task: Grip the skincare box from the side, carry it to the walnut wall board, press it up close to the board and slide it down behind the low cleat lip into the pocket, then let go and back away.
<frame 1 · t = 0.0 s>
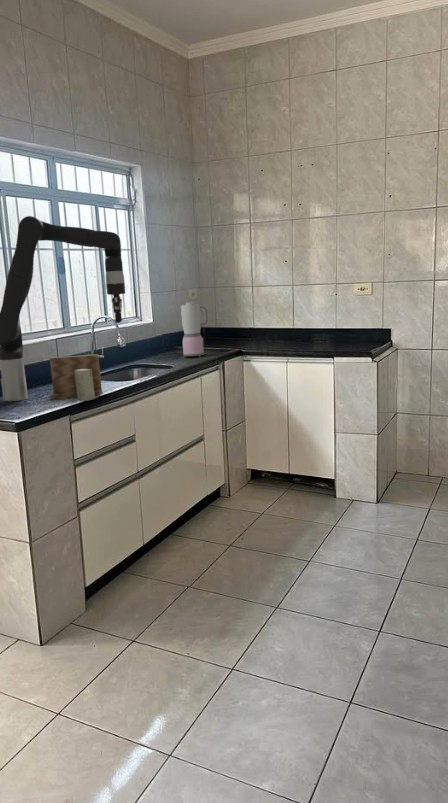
hand: (118, 322, 256), 29 cm above the worktop, tool pointing down, fingers open, 8 cm apart
blender: (196, 357, 366), on the worktop
wall board: (76, 395, 258), on the worktop
skincare box: (86, 400, 248), on the worktop
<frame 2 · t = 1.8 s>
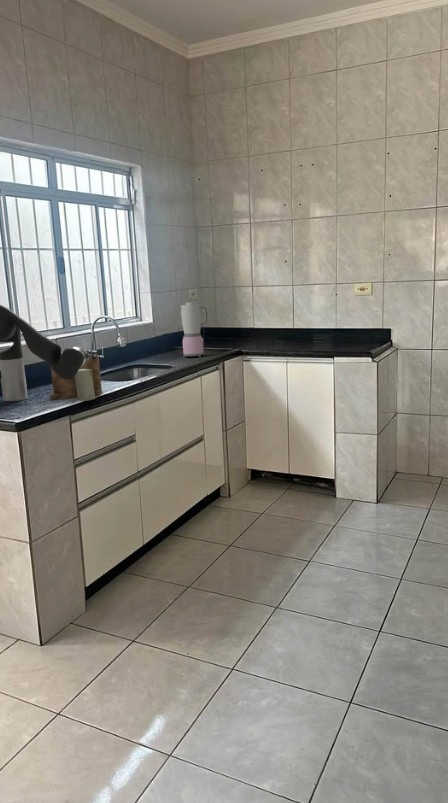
hand: (79, 353, 233), 20 cm above the worktop, tool horizontal, fingers open, 8 cm apart
nothing on the worktop moved.
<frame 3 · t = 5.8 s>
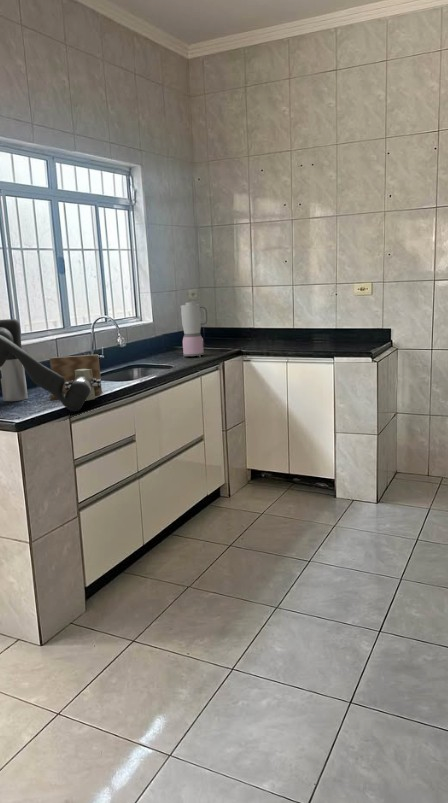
hand: (85, 381, 248), 7 cm above the worktop, tool horizontal, fingers closed on skincare box, 7 cm apart
skincare box: (86, 399, 248), on the worktop, touching gripper
everything else where it was.
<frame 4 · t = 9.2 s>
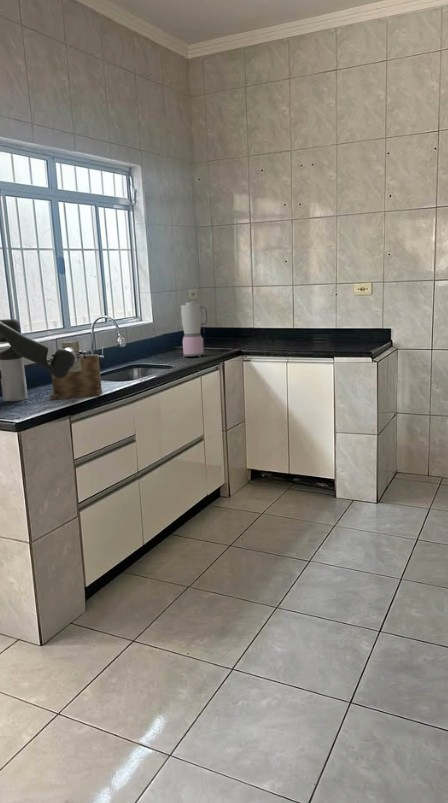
hand: (72, 353, 254), 18 cm above the worktop, tool horizontal, fingers closed on skincare box, 7 cm apart
skincare box: (73, 371, 253), point 10 cm above the worktop, touching gripper
everything else where it was.
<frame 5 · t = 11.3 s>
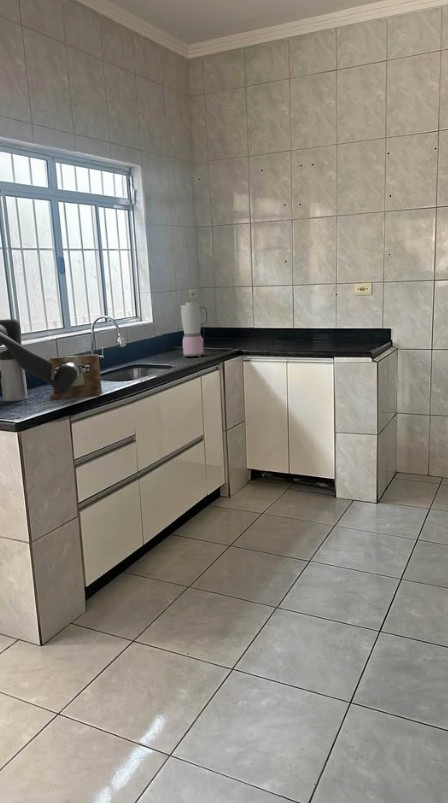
hand: (74, 367, 258), 11 cm above the worktop, tool horizontal, fingers closed on skincare box, 7 cm apart
skincare box: (75, 385, 257), point 4 cm above the worktop, touching gripper
everything else where it was.
when the fingers open (8 cm above the worktop, at t = 12.8 s): skincare box stays where it is, resting in wall board.
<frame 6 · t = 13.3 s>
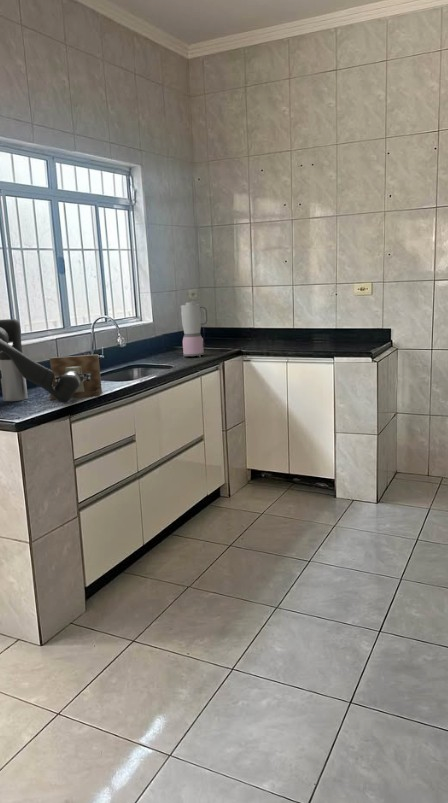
hand: (75, 375, 258), 8 cm above the worktop, tool horizontal, fingers open, 8 cm apart
skincare box: (76, 396, 258), resting in wall board
everything else where it was.
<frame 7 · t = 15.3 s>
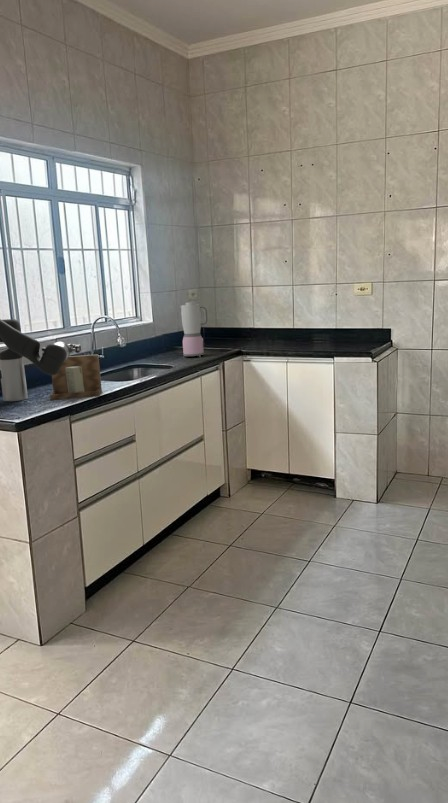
hand: (63, 347, 241), 22 cm above the worktop, tool horizontal, fingers open, 8 cm apart
nothing on the worktop moved.
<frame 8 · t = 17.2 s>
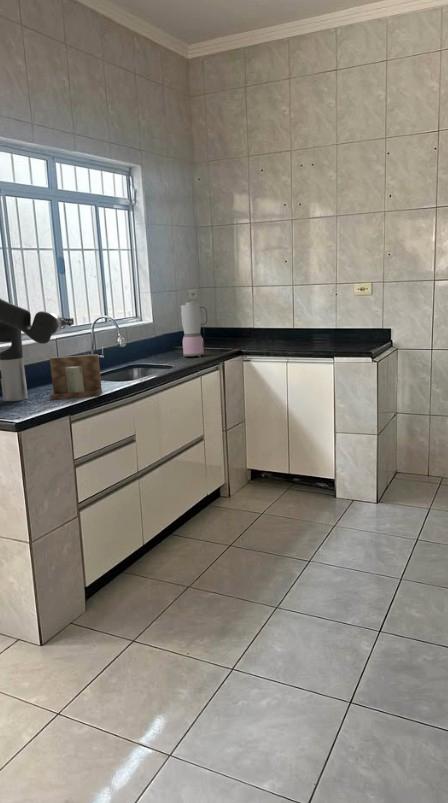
hand: (56, 321, 238), 32 cm above the worktop, tool horizontal, fingers open, 8 cm apart
nothing on the worktop moved.
at the end: skincare box inside the target area on the wall board (0.2 cm from its centre), point 0.0 cm above the wall board's base; skincare box tilted 0°; the gripper is holding nothing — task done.
